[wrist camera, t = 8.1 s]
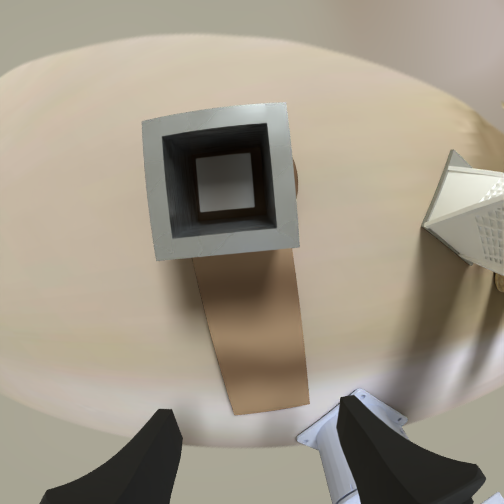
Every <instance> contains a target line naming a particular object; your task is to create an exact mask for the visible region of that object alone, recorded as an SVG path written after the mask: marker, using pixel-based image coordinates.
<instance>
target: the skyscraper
mask: <svg viewBox="0 0 504 504" xmlns="http://www.w3.org/2000/svg"><path fill="white" fill-rule="evenodd" d="M421 226H422V227H423V228H424V229H426V230H427V231H428V232H429V233H431V234H432V235H433V236H435V237H436V238H437V239H439V240H440V241H441V242H442V243H444V244H445V245H446V246H447V247H449V248H450V249H451V250H452V251H453V252H455V253H456V254H457V255H458V256H459V257H461V258H462V259H463V260H464V261H465V262H466V263H468V264H469V265H471V266H472V265H473V263H475V264H477V265H479V266H482V267H484V268H486V269H489V270H491V271H493V272H495V273H498V274H500V275H503V276H504V173H502V172H496V171H489V170H482V169H474V168H472V167H471V166H470V165H469V164H468V163H467V162H466V161H465V160H464V159H463V158H462V157H461V156H460V155H459V154H458V153H457V152H456V151H455V150H451V151H450V154H449V157H448V160H447V163H446V166H445V168H444V171H443V174H442V177H441V179H440V182H439V185H438V187H437V190H436V192H435V195H434V197H433V200H432V202H431V205H430V207H429V209H428V212H427V214H426V216H425V218H424V221H423V223H422V225H421Z"/></svg>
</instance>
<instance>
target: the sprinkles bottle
mask: <svg viewBox="0 0 504 504" xmlns="http://www.w3.org/2000/svg"><path fill="white" fill-rule="evenodd" d="M495 283H496V286H497V289H498V290H499V291H500V292H503V293H504V276H503V275H500V274H498V273H496V274H495Z"/></svg>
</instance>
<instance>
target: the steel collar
mask: <svg viewBox="0 0 504 504" xmlns="http://www.w3.org/2000/svg"><path fill="white" fill-rule="evenodd" d="M142 138H143V154H144V167H145V179H146V189H147V198H148V207H149V215H150V223H151V230H152V237H153V244H154V250H155V256H156V261H162V260H172V259H183V258H193V257H204V256H214V255H225V254H235V253H245V252H256V251H266V250H277V249H287V248H298V247H300V245H299V229H298V215H297V203H296V190H295V179H294V168H293V158H292V149H291V139H290V130H289V122H288V114H287V106H286V102H282V103H263V104H249V105H238V106H229V107H220V108H212V109H205V110H198V111H192V112H186V113H180V114H174V115H169V116H164V117H159V118H154V119H150V120H145V121H142ZM253 147H260V151H261V161H262V171H263V182H264V192H265V203H266V214H267V215H258V216H248V217H238V218H228V219H218V220H209V221H200V222H198V213H197V204H196V195H195V185H194V175H193V165H192V155H193V154H200V153H207V152H215V151H223V150H232V149H242V148H253Z"/></svg>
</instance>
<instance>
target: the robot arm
mask: <svg viewBox="0 0 504 504" xmlns="http://www.w3.org/2000/svg"><path fill="white" fill-rule="evenodd" d="M362 395H363V396H362ZM407 421H408V419H407V417H406V416H404V415H402V414H401V413H399V412H398V411H396V410H394V409H393V408H391V407H390V406H388V405H386V404H385V403H383V402H382V401H380V400H379V399H377V398H376V397H374V396H373V395H371V394H369V393H368V392H366V391H365V390H363V389H357V390H355V391H354V392H353V393H352V394H351V395H350V396H345V397H340V404H339V405H338V406H336V407H335V408H334V409H333V410H332V411H330V412H329V413H328V414H327V415H325V416H324V417H323V418H321V419H320V420H319V421H317V422H316V423H315V424H313V425H312V426H311V427H309V428H308V429H307V430H305V431H304V432H302V433H301V434H300V435H298V436H297V441H298V442H300V443H302V444H304V445H307V446H309V447H312V448H314V449H316V450H319V452H320V456H321V460H322V464H323V468H324V472H325V476H326V480H327V484H328V488H329V492H330V496H331V500H332V504H473V502H474V501H473V500H472V498H471V497H472V496H473V495H474V494H475V493H476V492H477V491H478V489H480V487H481V486H482V485H483V484H484V482H485V480H486V477H485V476H484V474H483V473H482V471H481V470H480V468H479V467H478V466H477V465H476V464H471V463H466V462H461V461H457V460H453V459H450V458H446V457H443V456H440V455H438V454H435V453H433V452H430V451H428V450H426V449H424V448H422V447H420V446H418V445H416V444H414V443H413V442H411V441H410V440H409V439H408V437H407V435H406V433H405V432H404V430H403V428H402V426H403V425H404V424H405V423H406V422H407ZM182 440H183V438H182V435H181V432H180V430H179V427H178V425H177V422H176V419H175V416H174V414H173V411H172V409H158V410H157V411H156V413H155V414H154V415H153V416H152V417H151V418H150V420H149V421H148V422H147V423H146V424H145V425H144V427H143V428H142V429H141V430H140V431H139V432H138V433H137V434H136V435H135V436H134V437H133V439H132V440H131V441H130V442H129V443H128V444H127V445H126V446H125V447H123V448H122V449H121V450H120V451H119V452H118V453H117V454H116V455H115V456H113V457H112V458H111V459H110V460H108V461H107V462H106V463H104V464H103V465H101V466H100V467H98V468H97V469H95V470H93V471H92V472H90V473H88V474H87V475H85V476H83V477H81V478H79V479H77V480H75V481H72V482H70V483H67V484H65V485H62V486H59V487H56V488H52V489H49V490H47V491H46V492H45V495H44V496H43V498H42V500H41V502H40V504H169V503H170V498H171V493H172V489H173V485H174V481H175V477H176V474H177V470H178V466H179V462H180V457H181V450H182ZM481 504H504V499H503V498H502V496H501V495H500V493H499V492H496V493H495V494H494V495H492V496H491V497H489V498H488V499H487V500H485V501H484V502H482V503H481Z"/></svg>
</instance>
